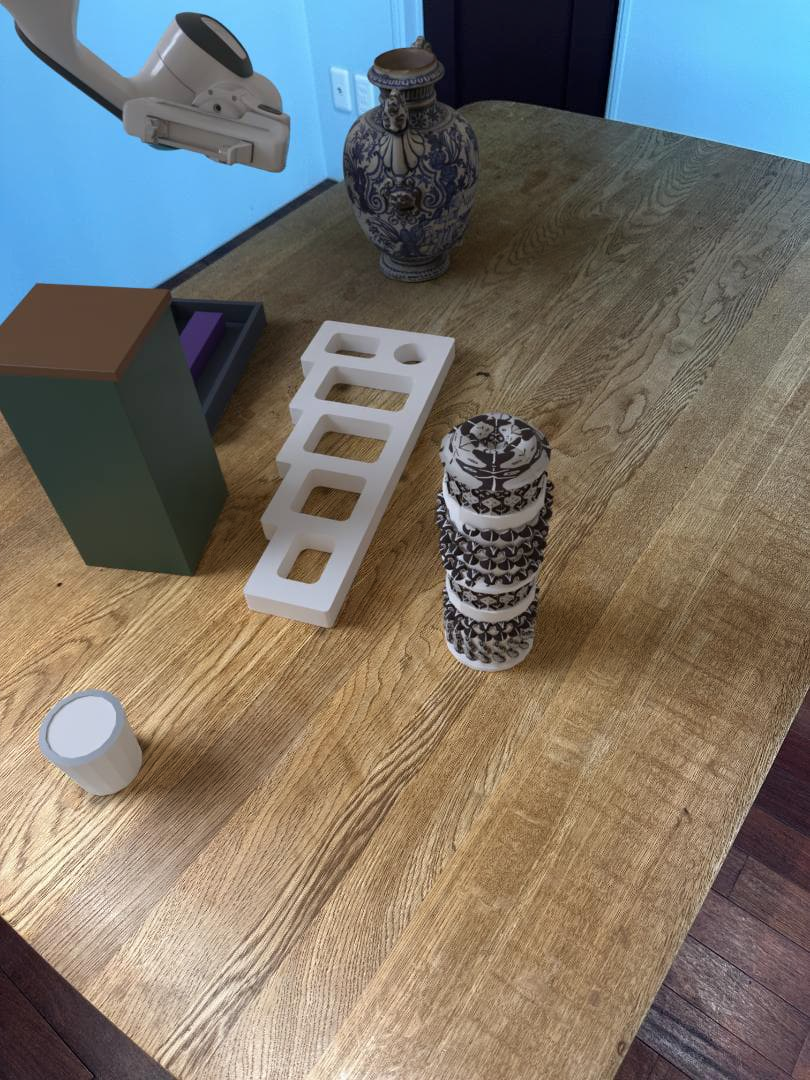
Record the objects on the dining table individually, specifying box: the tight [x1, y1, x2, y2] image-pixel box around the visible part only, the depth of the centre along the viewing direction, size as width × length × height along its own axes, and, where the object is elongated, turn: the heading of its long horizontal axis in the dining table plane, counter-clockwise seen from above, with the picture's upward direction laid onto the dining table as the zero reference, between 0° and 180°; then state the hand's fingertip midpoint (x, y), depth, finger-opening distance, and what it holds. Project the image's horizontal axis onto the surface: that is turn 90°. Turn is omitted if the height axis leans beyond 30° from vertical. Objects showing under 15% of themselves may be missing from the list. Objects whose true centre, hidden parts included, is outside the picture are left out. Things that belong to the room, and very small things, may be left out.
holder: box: [242, 320, 456, 629], centre depth 93 cm, size 45×18×3 cm, turn 162°
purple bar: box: [180, 311, 227, 385], centre depth 105 cm, size 4×20×2 cm, turn 169°
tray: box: [169, 297, 268, 438], centre depth 105 cm, size 14×26×4 cm, turn 170°
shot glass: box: [37, 688, 143, 797], centre depth 68 cm, size 7×7×7 cm
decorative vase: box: [342, 35, 480, 283], centre depth 111 cm, size 21×19×28 cm
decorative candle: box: [435, 411, 555, 673], centre depth 68 cm, size 9×9×25 cm
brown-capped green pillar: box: [0, 282, 230, 577], centre depth 79 cm, size 13×12×26 cm
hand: (185, 146), depth 95 cm, fingers open, 8 cm apart
